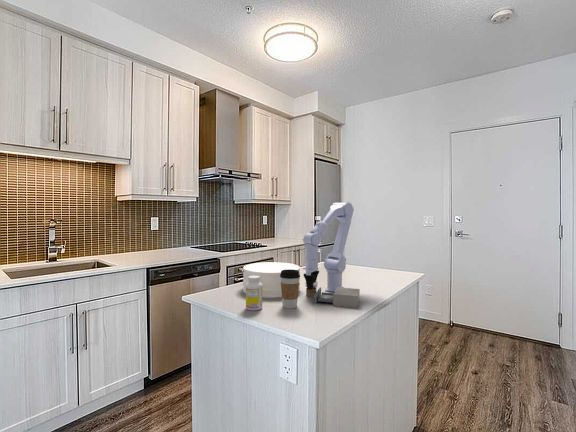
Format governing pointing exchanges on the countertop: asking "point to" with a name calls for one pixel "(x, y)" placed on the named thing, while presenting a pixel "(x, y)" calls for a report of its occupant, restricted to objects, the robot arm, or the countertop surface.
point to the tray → (323, 296)
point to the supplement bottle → (253, 293)
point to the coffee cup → (289, 287)
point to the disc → (313, 284)
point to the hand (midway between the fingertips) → (311, 287)
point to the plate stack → (268, 276)
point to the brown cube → (310, 292)
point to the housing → (346, 297)
